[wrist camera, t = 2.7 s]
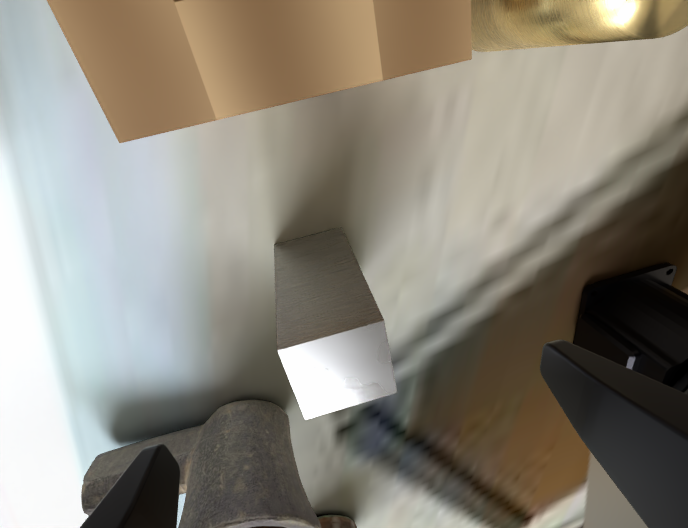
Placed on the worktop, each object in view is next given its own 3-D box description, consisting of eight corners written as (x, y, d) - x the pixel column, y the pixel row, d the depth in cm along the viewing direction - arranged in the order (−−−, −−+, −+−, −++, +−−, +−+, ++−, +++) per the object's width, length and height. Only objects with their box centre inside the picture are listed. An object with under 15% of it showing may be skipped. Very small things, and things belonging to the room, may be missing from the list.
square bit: (341, 227, 18) (384, 320, 12) (353, 283, 20) (397, 392, 13) (274, 244, 18) (277, 350, 11) (292, 299, 20) (305, 419, 13)
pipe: (92, 419, 22) (9, 584, 15) (298, 372, 23) (311, 503, 16) (133, 475, 25) (81, 633, 18) (314, 431, 26) (330, 562, 19)
